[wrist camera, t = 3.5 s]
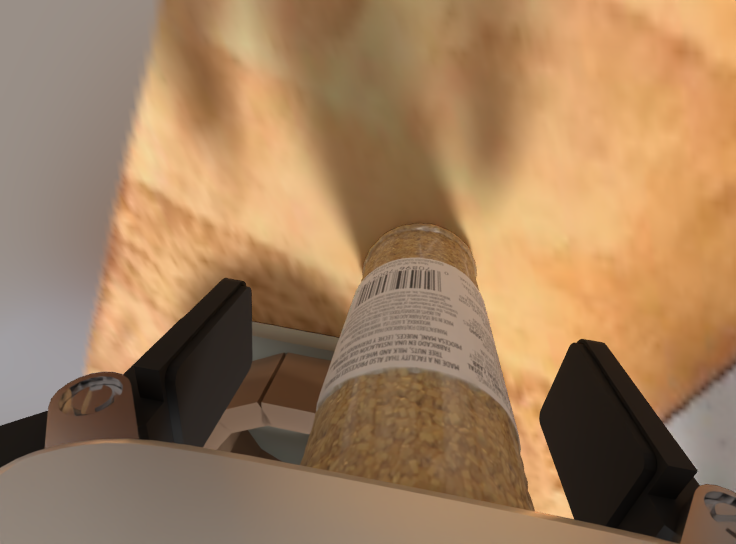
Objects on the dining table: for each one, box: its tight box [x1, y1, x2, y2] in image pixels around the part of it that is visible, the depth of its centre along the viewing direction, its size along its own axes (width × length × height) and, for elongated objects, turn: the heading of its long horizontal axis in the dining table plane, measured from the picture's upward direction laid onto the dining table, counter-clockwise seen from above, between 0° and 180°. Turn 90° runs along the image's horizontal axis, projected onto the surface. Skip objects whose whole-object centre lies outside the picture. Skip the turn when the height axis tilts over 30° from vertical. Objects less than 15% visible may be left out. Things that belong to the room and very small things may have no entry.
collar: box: [203, 321, 339, 465], centre depth 18 cm, size 10×10×4 cm
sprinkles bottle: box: [300, 223, 535, 511], centre depth 9 cm, size 5×5×14 cm
